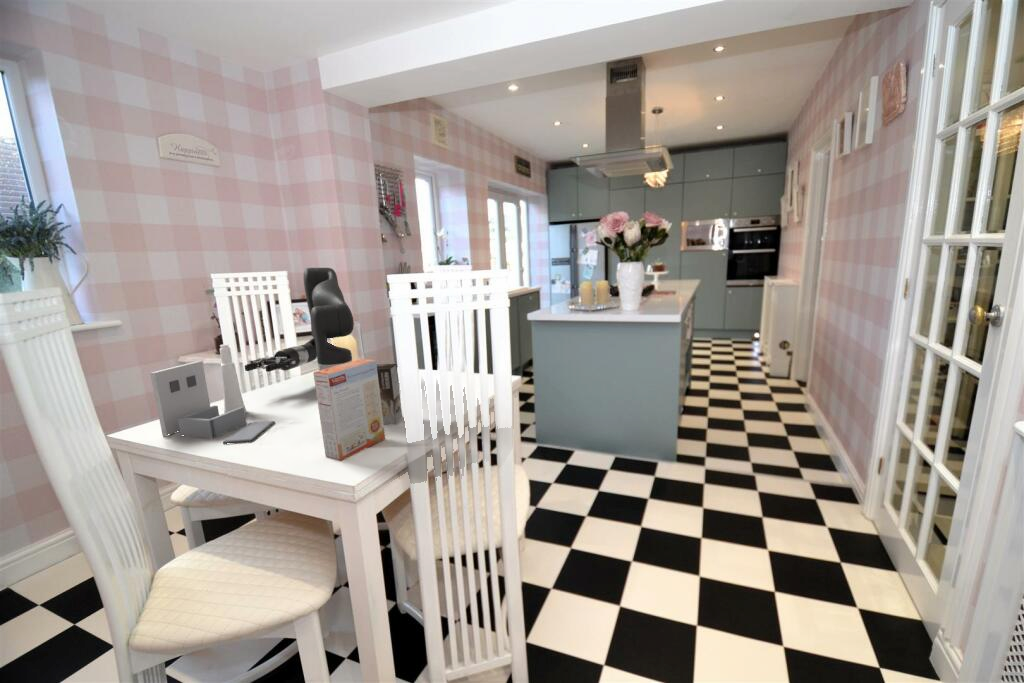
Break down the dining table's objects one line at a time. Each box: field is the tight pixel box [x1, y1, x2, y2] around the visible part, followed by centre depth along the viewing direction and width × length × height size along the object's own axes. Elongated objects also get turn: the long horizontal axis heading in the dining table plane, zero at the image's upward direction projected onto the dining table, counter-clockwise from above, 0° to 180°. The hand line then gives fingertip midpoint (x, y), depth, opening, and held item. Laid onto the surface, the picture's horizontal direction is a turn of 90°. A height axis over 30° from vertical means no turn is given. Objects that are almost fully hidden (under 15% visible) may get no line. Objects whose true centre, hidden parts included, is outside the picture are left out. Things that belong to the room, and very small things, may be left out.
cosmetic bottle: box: [219, 343, 247, 414], centre depth 139 cm, size 6×6×22 cm
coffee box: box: [377, 363, 403, 426], centre depth 126 cm, size 9×6×16 cm
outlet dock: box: [150, 360, 248, 439], centre depth 127 cm, size 17×14×18 cm
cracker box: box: [313, 358, 386, 461], centre depth 108 cm, size 14×6×21 cm, turn 149°
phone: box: [223, 420, 276, 445], centre depth 124 cm, size 7×14×1 cm, turn 5°
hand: (256, 368), depth 148 cm, fingers open, 8 cm apart
